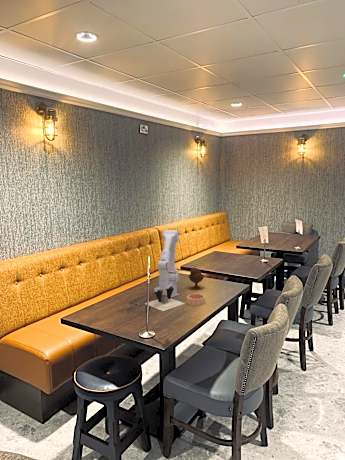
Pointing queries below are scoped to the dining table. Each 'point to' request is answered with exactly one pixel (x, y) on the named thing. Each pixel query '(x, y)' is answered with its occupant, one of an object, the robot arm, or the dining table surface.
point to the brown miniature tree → (196, 277)
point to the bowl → (196, 299)
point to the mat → (166, 307)
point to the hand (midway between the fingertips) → (164, 300)
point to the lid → (164, 303)
